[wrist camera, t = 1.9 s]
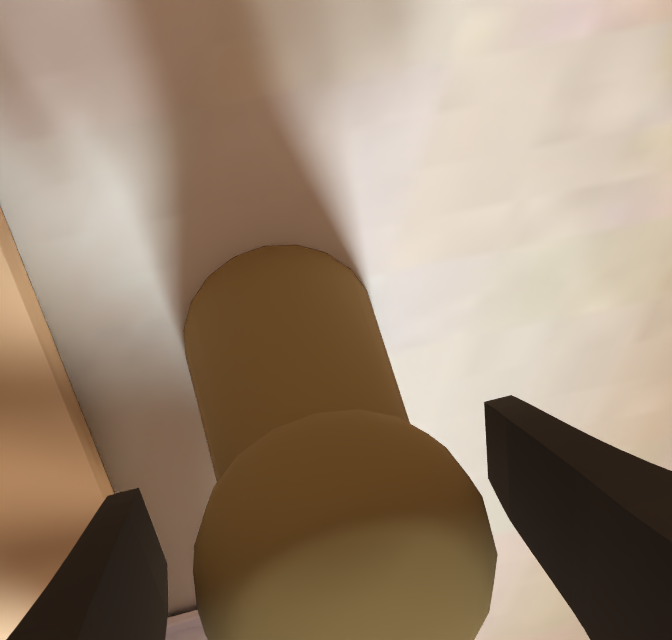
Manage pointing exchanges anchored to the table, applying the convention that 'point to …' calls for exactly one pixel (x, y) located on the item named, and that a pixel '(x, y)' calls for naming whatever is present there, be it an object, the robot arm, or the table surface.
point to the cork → (322, 469)
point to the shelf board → (37, 448)
